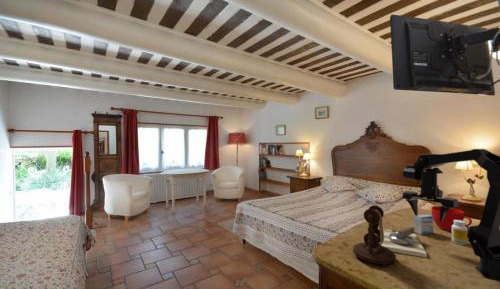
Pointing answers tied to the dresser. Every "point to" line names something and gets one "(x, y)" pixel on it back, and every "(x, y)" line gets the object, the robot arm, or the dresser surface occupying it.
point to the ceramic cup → (448, 218)
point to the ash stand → (406, 249)
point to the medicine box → (423, 224)
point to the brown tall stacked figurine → (374, 240)
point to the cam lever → (403, 236)
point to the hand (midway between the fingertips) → (428, 218)
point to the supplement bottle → (459, 232)
